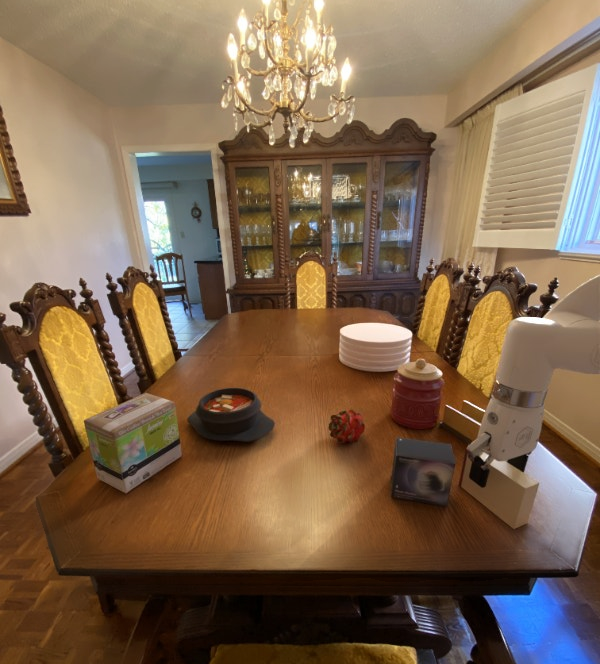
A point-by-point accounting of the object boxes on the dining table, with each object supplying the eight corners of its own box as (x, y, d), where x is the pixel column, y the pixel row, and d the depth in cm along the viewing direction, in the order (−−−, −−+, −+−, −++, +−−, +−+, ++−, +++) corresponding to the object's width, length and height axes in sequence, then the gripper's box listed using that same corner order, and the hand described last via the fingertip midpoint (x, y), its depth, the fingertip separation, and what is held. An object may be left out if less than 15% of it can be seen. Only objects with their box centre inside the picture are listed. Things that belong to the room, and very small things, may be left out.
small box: (390, 499, 68) (395, 455, 64) (390, 478, 74) (394, 435, 70) (448, 509, 65) (456, 463, 61) (443, 485, 71) (451, 442, 67)
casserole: (288, 422, 95) (287, 395, 92) (246, 459, 80) (244, 428, 77) (219, 402, 107) (216, 377, 104) (171, 431, 92) (166, 403, 89)
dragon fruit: (331, 455, 84) (352, 438, 93) (359, 445, 79) (379, 428, 89) (315, 423, 85) (338, 410, 94) (342, 411, 80) (364, 398, 89)
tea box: (127, 495, 69) (111, 432, 64) (97, 479, 74) (80, 419, 69) (184, 455, 82) (175, 399, 76) (155, 444, 86) (144, 390, 81)
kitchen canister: (425, 436, 88) (434, 372, 82) (381, 418, 97) (386, 359, 90) (446, 417, 97) (456, 358, 90) (403, 402, 105) (410, 347, 99)
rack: (464, 418, 96) (467, 399, 94) (510, 445, 84) (515, 424, 82) (439, 425, 93) (442, 405, 91) (482, 454, 81) (487, 432, 79)
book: (471, 480, 73) (479, 444, 69) (527, 523, 62) (540, 482, 59) (458, 485, 71) (465, 448, 68) (513, 529, 61) (525, 488, 57)
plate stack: (402, 348, 153) (405, 323, 149) (415, 372, 127) (419, 343, 123) (339, 347, 156) (339, 322, 152) (339, 370, 130) (340, 341, 126)
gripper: (501, 412, 51) (478, 502, 58) (575, 393, 58) (547, 476, 64) (461, 392, 58) (445, 475, 64) (531, 376, 64) (510, 453, 70)
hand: (496, 475), depth 64 cm, fingers open, 9 cm apart
